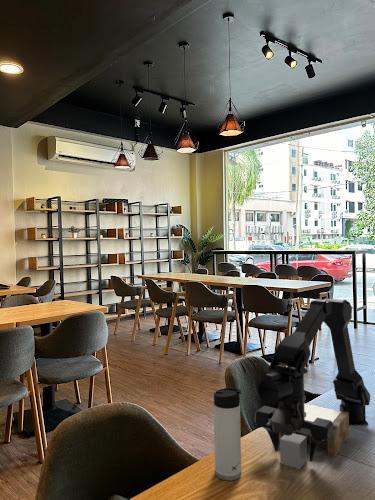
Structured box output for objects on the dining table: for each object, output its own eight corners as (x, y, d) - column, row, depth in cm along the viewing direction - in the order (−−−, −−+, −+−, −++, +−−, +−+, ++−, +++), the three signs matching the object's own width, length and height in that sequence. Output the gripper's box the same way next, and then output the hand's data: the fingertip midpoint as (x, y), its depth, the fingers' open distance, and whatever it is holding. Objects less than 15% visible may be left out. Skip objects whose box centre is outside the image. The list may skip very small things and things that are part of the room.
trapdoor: (300, 411, 122) (300, 402, 122) (341, 420, 115) (341, 411, 115) (282, 428, 110) (282, 418, 110) (327, 439, 103) (326, 429, 103)
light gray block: (287, 454, 104) (287, 431, 104) (306, 460, 101) (306, 436, 101) (280, 463, 100) (279, 439, 100) (299, 469, 97) (299, 444, 97)
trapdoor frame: (295, 422, 123) (295, 398, 123) (349, 435, 114) (348, 409, 114) (275, 441, 111) (275, 415, 111) (334, 457, 102) (333, 428, 102)
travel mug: (241, 482, 92) (240, 395, 92) (213, 479, 93) (211, 393, 93) (243, 468, 98) (242, 386, 98) (216, 465, 99) (215, 384, 99)
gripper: (244, 396, 99) (245, 459, 99) (319, 412, 88) (321, 483, 88) (263, 383, 108) (264, 441, 108) (333, 397, 97) (335, 461, 97)
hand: (293, 455), depth 100 cm, fingers open, 9 cm apart
